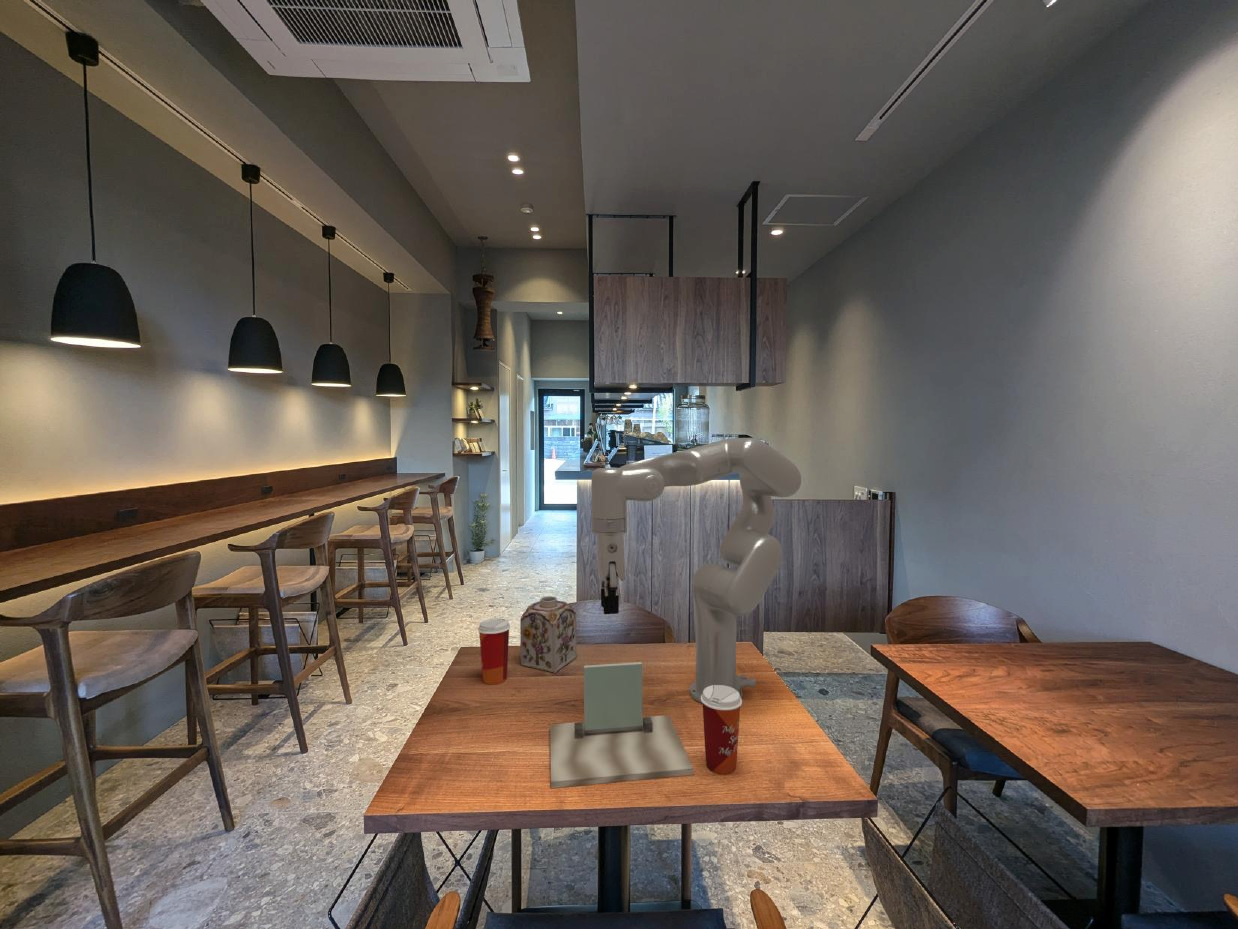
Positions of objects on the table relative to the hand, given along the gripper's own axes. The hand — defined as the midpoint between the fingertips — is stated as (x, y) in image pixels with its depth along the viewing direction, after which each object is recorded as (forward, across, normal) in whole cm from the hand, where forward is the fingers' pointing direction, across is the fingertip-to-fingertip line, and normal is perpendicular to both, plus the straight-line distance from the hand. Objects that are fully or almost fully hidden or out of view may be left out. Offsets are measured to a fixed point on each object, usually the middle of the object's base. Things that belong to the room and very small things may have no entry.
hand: (609, 609), depth 112 cm
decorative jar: (+26, +34, +13) cm, 45 cm away
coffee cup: (+26, +26, +27) cm, 45 cm away
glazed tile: (+23, -6, 0) cm, 24 cm away
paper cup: (+26, -18, -19) cm, 36 cm away
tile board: (+25, -10, 0) cm, 27 cm away
